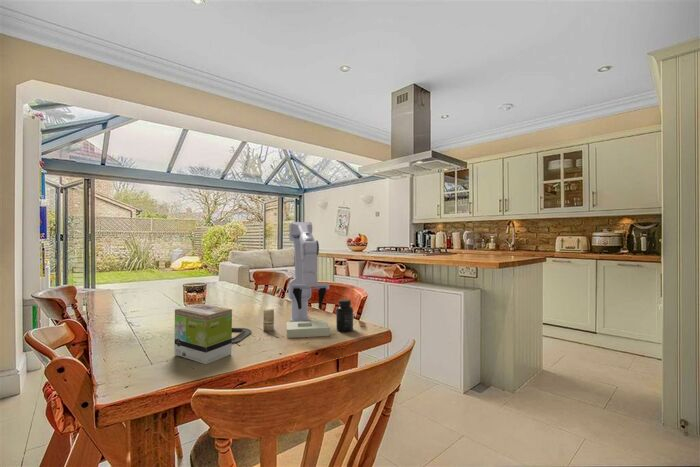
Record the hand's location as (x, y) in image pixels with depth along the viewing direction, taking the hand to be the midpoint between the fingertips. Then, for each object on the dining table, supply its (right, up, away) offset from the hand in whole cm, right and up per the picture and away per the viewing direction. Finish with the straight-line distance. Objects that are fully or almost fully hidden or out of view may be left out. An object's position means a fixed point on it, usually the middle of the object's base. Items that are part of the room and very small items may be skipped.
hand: (310, 308), depth 124 cm
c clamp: (-32, -11, -2) cm, 34 cm away
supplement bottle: (+13, -11, +9) cm, 19 cm away
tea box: (-31, -10, -20) cm, 39 cm away
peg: (-18, -10, +8) cm, 22 cm away
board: (-2, -10, +5) cm, 12 cm away
